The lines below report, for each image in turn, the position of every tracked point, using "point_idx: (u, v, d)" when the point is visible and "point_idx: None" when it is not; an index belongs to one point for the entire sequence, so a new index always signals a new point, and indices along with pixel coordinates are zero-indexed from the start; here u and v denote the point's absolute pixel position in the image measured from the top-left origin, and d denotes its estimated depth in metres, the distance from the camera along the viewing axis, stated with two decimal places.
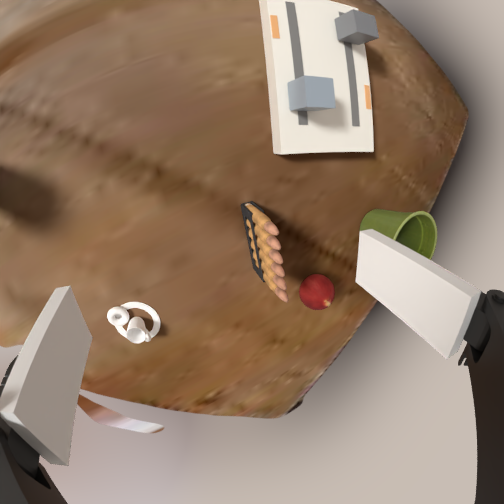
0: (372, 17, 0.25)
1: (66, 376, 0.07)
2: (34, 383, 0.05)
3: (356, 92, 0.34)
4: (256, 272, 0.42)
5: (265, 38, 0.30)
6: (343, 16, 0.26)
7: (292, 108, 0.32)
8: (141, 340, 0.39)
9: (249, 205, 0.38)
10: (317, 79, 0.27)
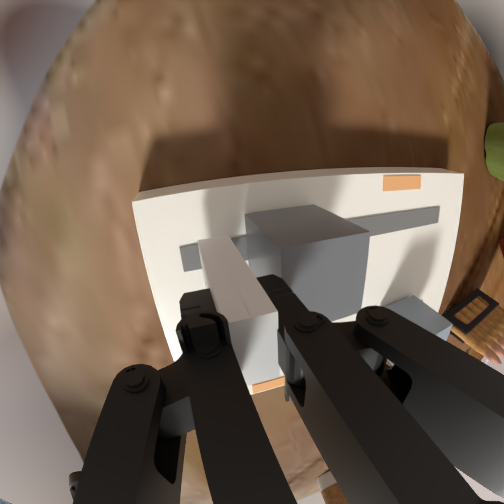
0: (292, 259, 0.10)
1: None
2: None
3: (396, 212, 0.17)
4: None
5: None
6: None
7: None
8: None
9: None
10: None
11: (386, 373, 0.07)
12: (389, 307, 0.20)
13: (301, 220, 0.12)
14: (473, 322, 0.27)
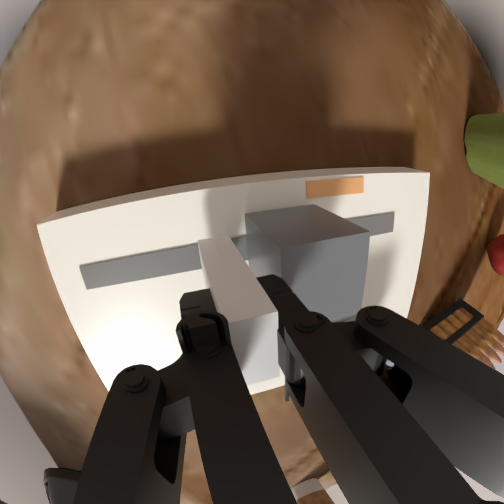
0: (292, 259, 0.10)
1: None
2: None
3: None
4: None
5: None
6: None
7: None
8: None
9: None
10: None
11: (386, 373, 0.07)
12: None
13: (301, 220, 0.12)
14: (451, 338, 0.26)
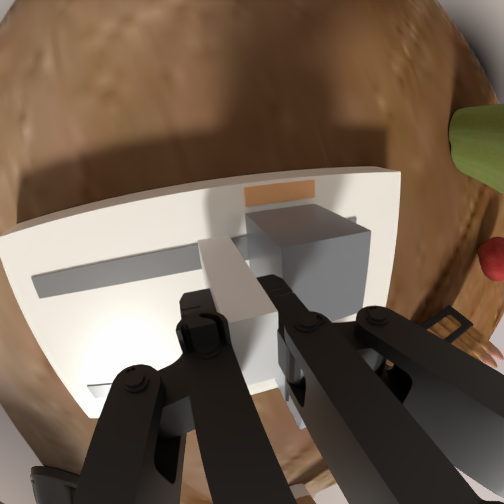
0: (293, 258, 0.10)
1: None
2: None
3: None
4: None
5: None
6: None
7: None
8: None
9: None
10: None
11: (386, 373, 0.07)
12: None
13: (302, 220, 0.12)
14: None
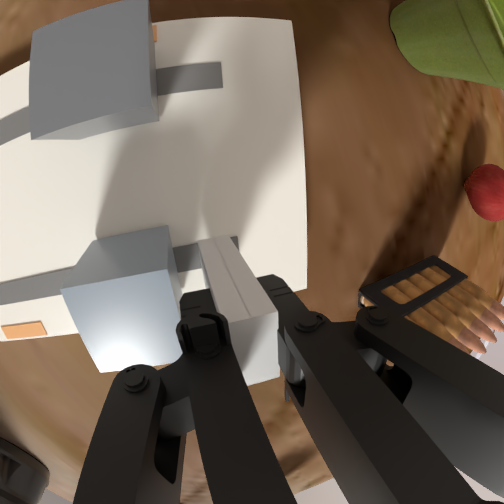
0: (42, 38, 0.04)
1: None
2: None
3: None
4: None
5: None
6: (67, 136, 0.08)
7: None
8: None
9: None
10: (91, 340, 0.09)
11: (386, 373, 0.07)
12: (103, 239, 0.12)
13: None
14: (414, 302, 0.19)
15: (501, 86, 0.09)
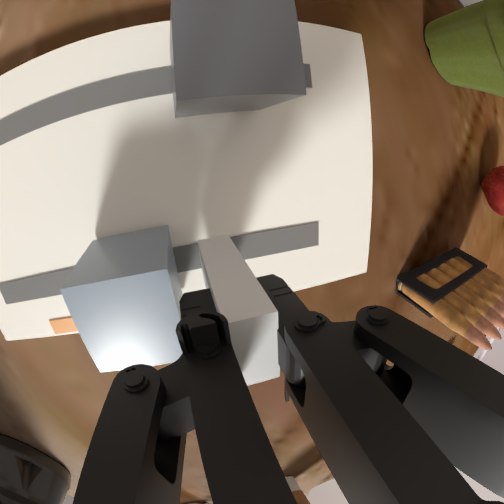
0: (186, 2, 0.05)
1: None
2: None
3: None
4: None
5: None
6: (186, 109, 0.09)
7: None
8: None
9: (406, 292, 0.23)
10: (91, 340, 0.09)
11: (386, 373, 0.07)
12: (103, 239, 0.12)
13: None
14: (446, 287, 0.20)
15: None
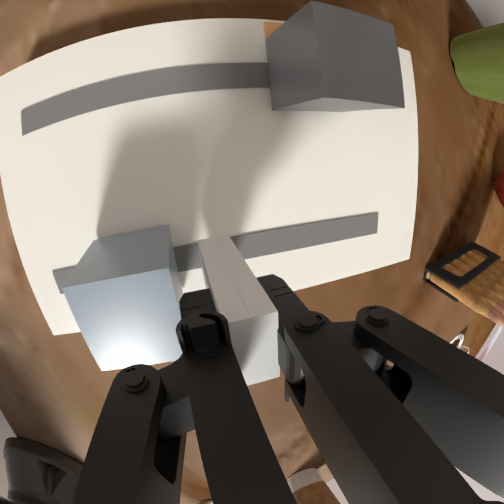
0: (323, 13, 0.07)
1: None
2: None
3: None
4: None
5: None
6: (303, 104, 0.10)
7: None
8: None
9: (434, 280, 0.24)
10: (93, 338, 0.09)
11: (386, 373, 0.07)
12: (104, 239, 0.12)
13: None
14: (468, 275, 0.22)
15: None
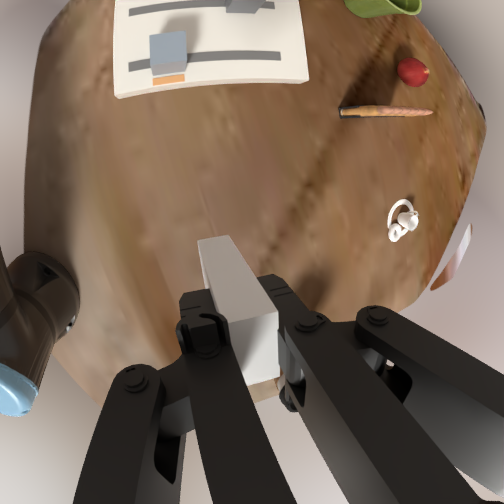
0: None
1: None
2: None
3: None
4: None
5: (178, 87, 0.31)
6: (233, 5, 0.23)
7: (183, 69, 0.27)
8: (416, 219, 0.47)
9: (344, 112, 0.37)
10: (153, 51, 0.22)
11: (386, 373, 0.07)
12: None
13: None
14: None
15: (388, 9, 0.25)
